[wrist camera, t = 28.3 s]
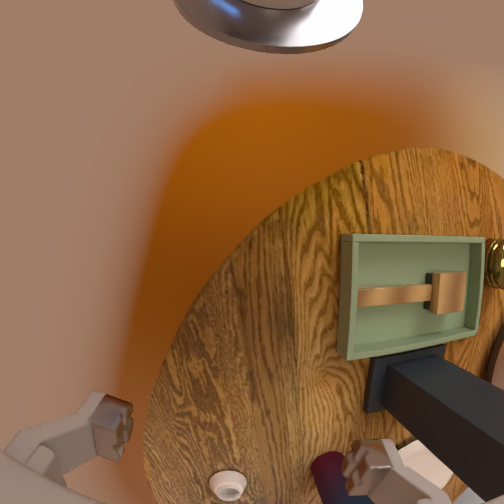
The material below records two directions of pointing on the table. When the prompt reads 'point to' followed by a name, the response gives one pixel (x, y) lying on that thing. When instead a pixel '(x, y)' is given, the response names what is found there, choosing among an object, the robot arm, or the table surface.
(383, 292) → the brush
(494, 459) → the stand
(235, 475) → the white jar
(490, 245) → the brass bell weight
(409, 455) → the plate
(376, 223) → the table surface
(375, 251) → the tray
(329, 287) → the table surface
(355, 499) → the cup
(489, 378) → the bowl
